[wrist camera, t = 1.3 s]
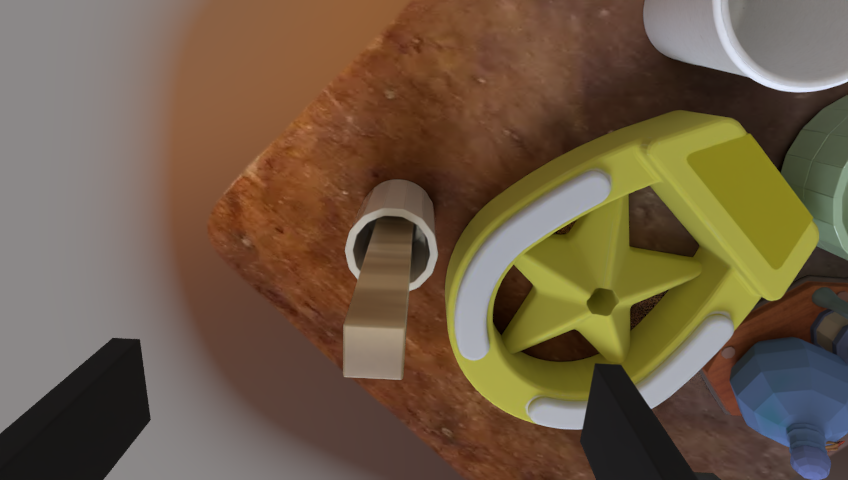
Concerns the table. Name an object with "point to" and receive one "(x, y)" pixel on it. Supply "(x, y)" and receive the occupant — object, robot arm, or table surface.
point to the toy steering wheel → (623, 263)
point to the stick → (380, 304)
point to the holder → (403, 203)
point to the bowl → (823, 174)
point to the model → (790, 371)
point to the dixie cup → (756, 39)
